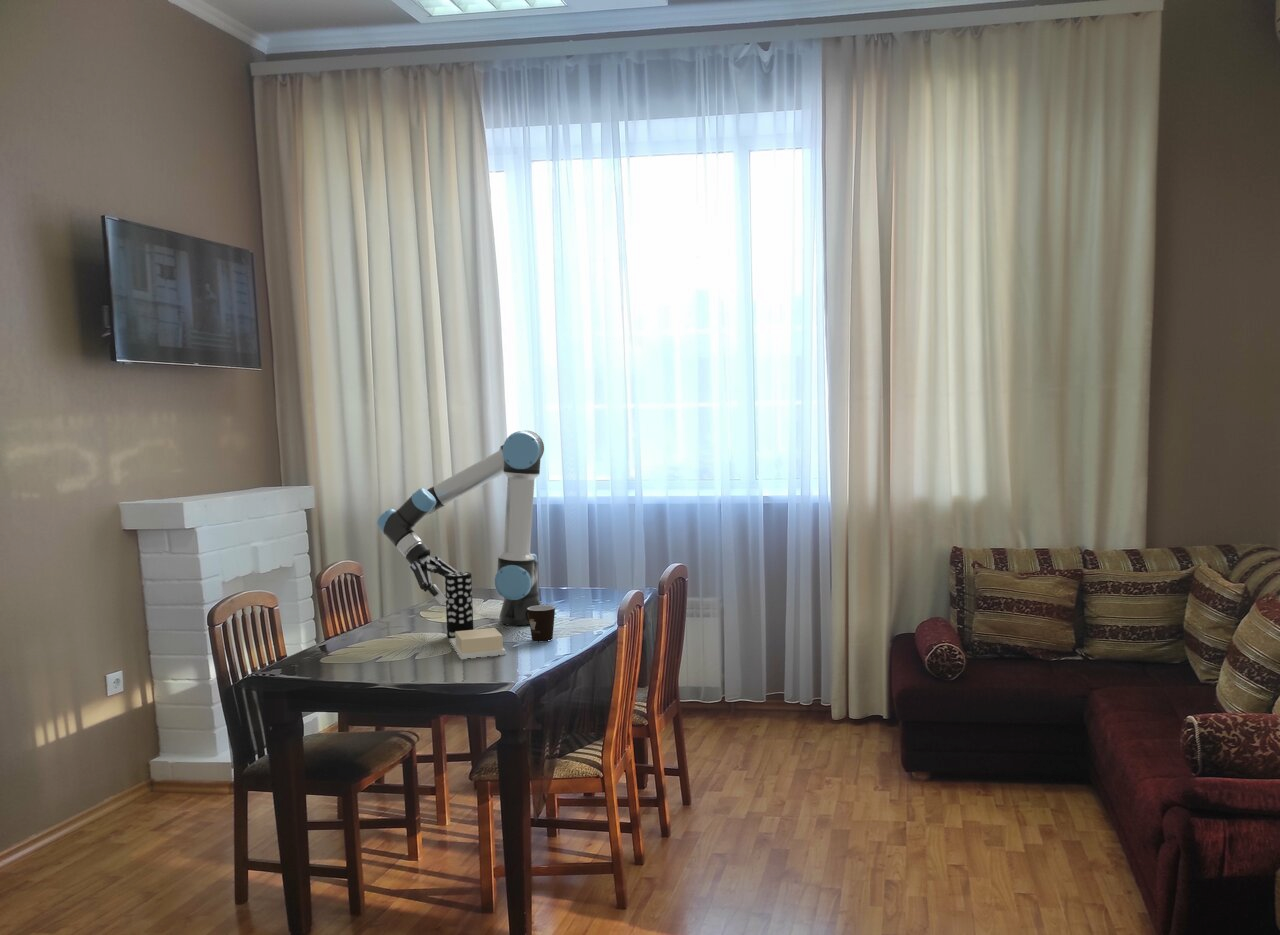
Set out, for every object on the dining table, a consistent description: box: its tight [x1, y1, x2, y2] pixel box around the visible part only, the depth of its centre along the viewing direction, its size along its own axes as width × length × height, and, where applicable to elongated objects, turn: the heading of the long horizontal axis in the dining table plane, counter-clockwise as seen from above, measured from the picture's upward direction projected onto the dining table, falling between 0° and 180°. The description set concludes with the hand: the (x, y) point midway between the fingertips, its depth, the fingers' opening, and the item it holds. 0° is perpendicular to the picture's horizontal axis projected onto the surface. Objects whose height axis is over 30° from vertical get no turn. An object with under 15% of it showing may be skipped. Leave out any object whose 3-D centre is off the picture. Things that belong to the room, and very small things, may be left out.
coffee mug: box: [526, 604, 556, 643], centre depth 315 cm, size 12×9×10 cm
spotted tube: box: [444, 571, 474, 639], centre depth 321 cm, size 8×8×20 cm
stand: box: [449, 627, 506, 660], centre depth 304 cm, size 13×22×6 cm, turn 19°
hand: (456, 598), depth 321 cm, fingers open, 13 cm apart
